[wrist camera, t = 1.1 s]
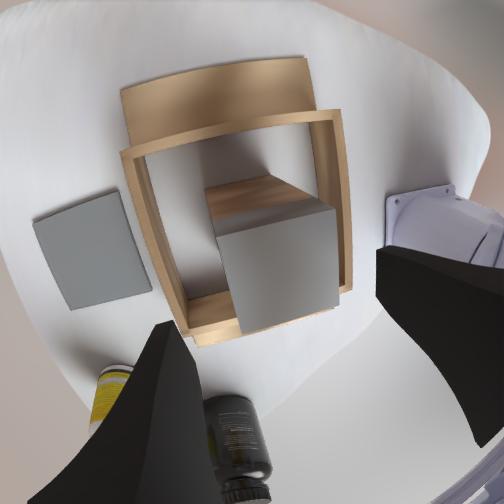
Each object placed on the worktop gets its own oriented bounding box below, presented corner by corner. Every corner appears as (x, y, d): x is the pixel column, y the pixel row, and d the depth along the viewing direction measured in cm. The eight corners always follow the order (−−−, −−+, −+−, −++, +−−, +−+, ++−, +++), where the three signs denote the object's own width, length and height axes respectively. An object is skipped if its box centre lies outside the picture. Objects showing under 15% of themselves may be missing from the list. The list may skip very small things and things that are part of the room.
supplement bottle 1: (90, 378, 22) (73, 461, 13) (118, 354, 21) (102, 448, 12) (133, 403, 24) (129, 483, 15) (164, 383, 24) (165, 472, 15)
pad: (118, 190, 16) (117, 191, 16) (152, 288, 19) (152, 291, 19) (34, 222, 15) (32, 224, 15) (72, 307, 19) (70, 310, 18)
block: (270, 174, 18) (335, 208, 10) (280, 235, 20) (339, 305, 12) (204, 189, 18) (216, 237, 9) (219, 251, 19) (242, 334, 11)
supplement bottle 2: (181, 413, 26) (190, 510, 15) (224, 385, 25) (248, 494, 14) (224, 431, 29) (243, 514, 18) (266, 406, 28) (297, 496, 17)
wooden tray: (305, 59, 15) (327, 46, 12) (332, 306, 24) (350, 330, 21) (121, 91, 14) (105, 81, 11) (197, 345, 22) (200, 375, 19)
